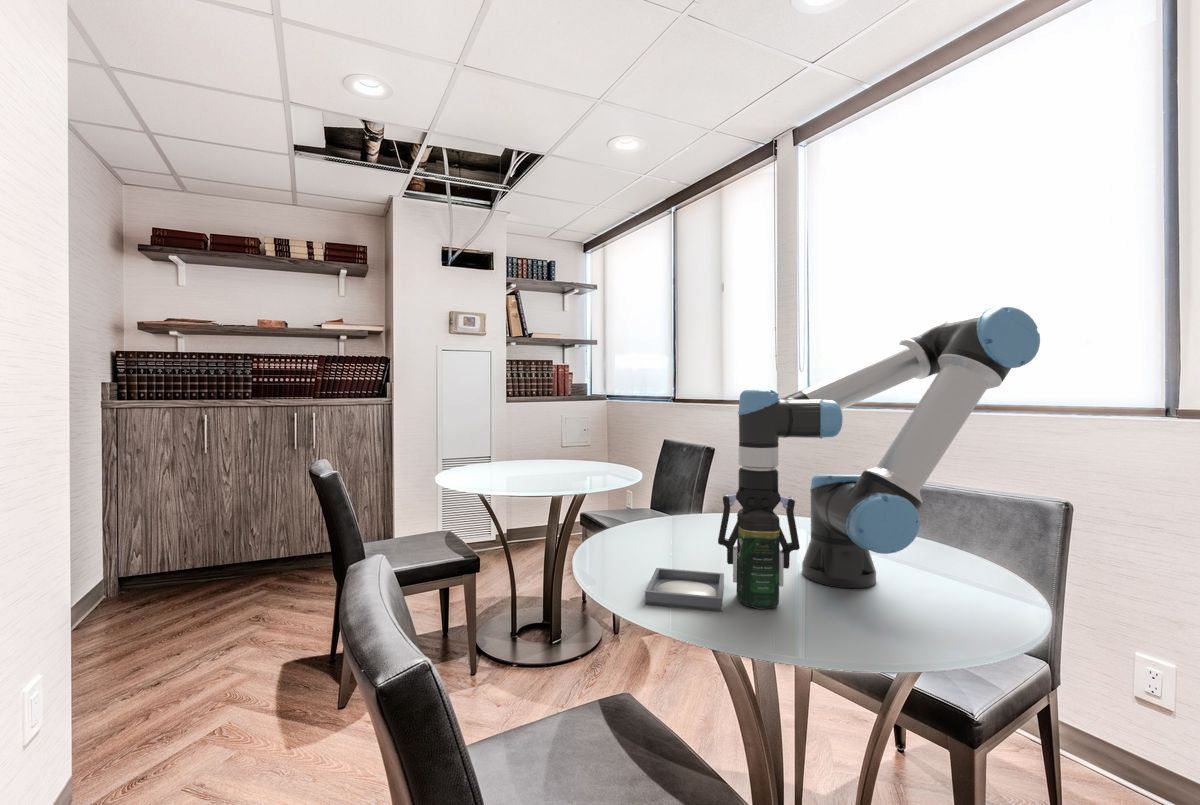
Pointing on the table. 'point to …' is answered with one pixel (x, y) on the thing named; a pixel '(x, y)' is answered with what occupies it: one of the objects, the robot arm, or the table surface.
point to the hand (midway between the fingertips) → (757, 581)
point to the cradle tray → (686, 589)
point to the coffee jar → (758, 559)
